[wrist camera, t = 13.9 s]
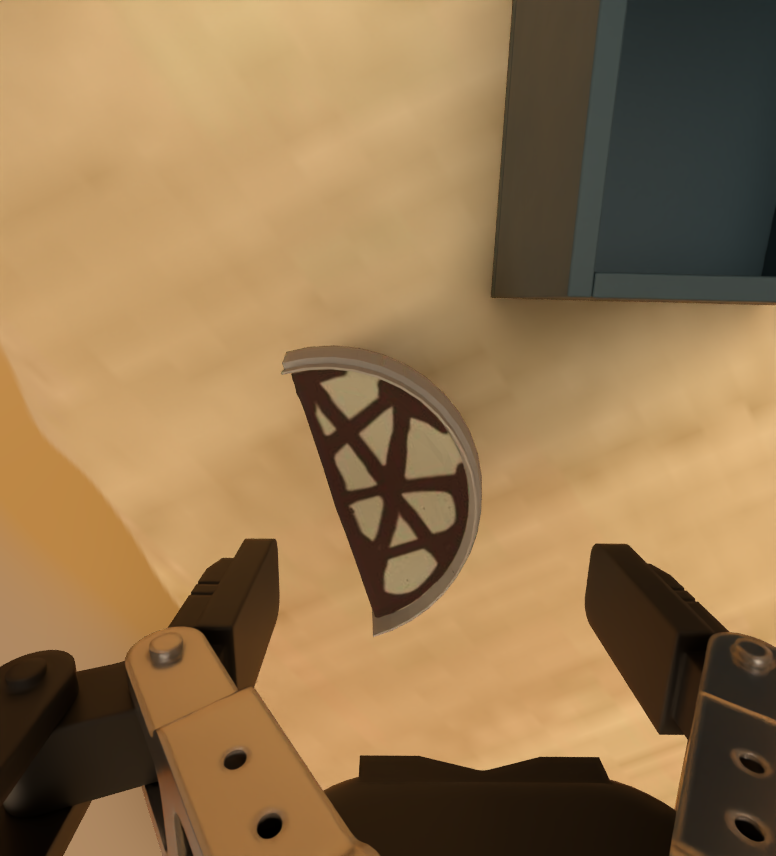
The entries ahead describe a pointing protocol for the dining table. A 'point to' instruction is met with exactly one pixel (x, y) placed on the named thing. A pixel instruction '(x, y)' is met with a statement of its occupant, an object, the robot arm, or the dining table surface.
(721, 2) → the cool chest
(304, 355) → the food container
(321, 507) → the dining table surface
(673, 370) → the dining table surface
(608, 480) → the dining table surface
